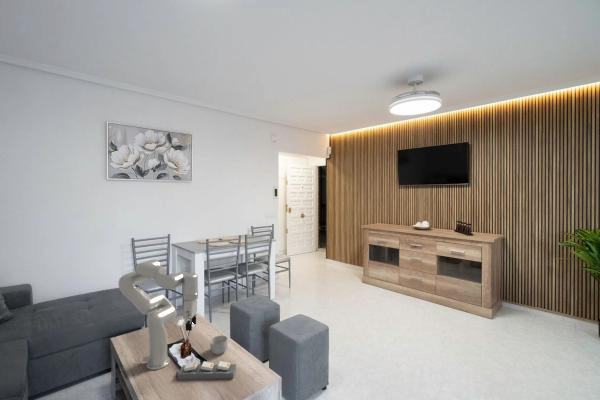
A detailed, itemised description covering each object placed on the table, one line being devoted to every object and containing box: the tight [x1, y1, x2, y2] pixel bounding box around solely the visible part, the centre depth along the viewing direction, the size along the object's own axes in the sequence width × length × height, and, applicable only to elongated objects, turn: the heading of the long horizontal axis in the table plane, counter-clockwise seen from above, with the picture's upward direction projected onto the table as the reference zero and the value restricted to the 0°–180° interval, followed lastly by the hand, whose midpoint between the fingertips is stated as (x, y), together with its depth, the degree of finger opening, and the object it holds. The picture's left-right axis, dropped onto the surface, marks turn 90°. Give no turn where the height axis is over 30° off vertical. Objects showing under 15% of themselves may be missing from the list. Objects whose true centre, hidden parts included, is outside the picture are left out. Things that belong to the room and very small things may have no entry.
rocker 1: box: [184, 361, 199, 371], centre depth 158 cm, size 6×4×2 cm
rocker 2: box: [201, 360, 215, 371], centre depth 159 cm, size 6×4×2 cm
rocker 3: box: [217, 360, 231, 370], centre depth 159 cm, size 6×4×2 cm
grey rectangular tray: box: [176, 363, 237, 381], centre depth 159 cm, size 32×8×4 cm, turn 92°
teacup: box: [209, 333, 228, 355], centre depth 183 cm, size 14×11×8 cm
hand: (191, 326), depth 161 cm, fingers open, 6 cm apart
